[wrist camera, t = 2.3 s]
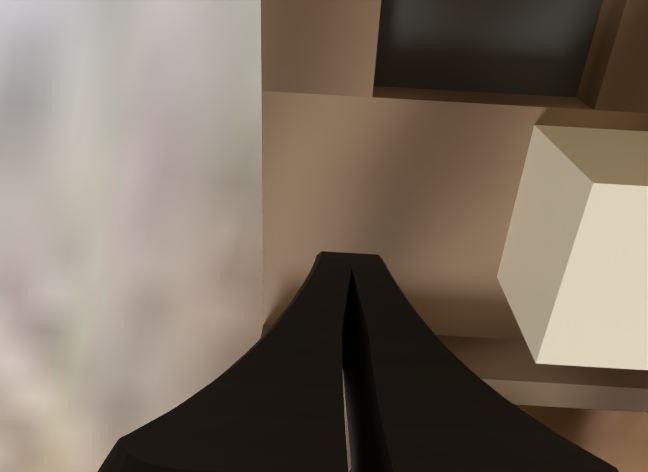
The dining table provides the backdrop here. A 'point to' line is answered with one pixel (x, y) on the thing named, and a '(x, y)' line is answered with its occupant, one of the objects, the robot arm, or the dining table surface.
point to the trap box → (438, 155)
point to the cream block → (581, 248)
